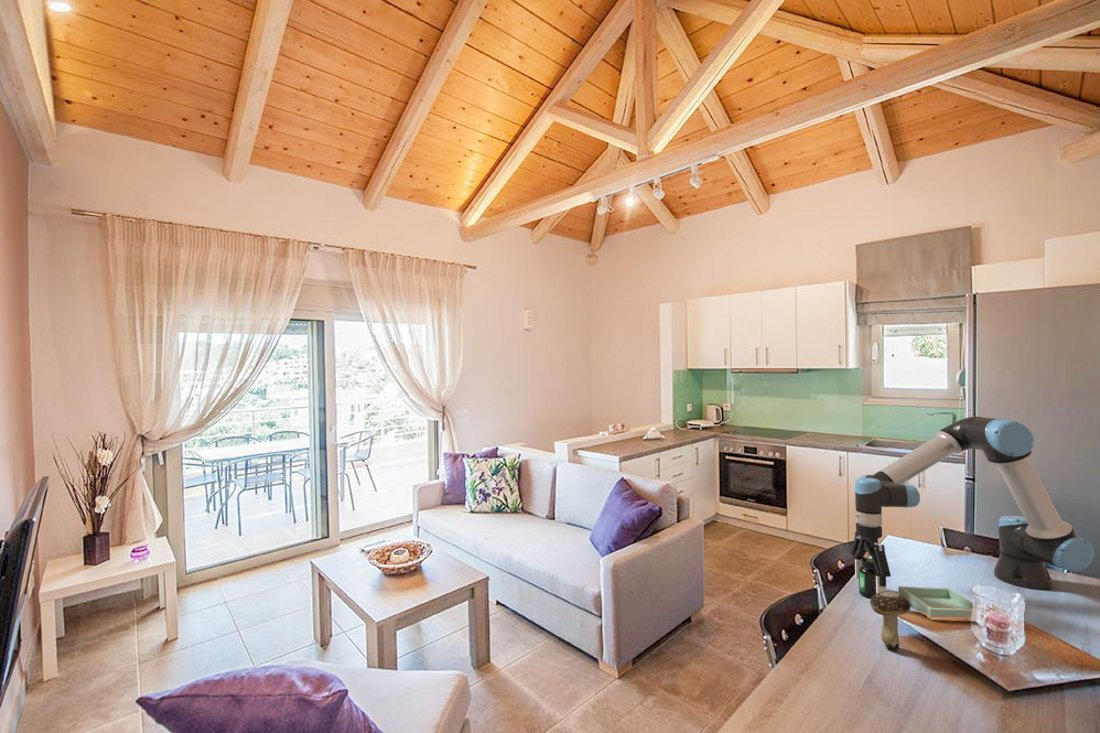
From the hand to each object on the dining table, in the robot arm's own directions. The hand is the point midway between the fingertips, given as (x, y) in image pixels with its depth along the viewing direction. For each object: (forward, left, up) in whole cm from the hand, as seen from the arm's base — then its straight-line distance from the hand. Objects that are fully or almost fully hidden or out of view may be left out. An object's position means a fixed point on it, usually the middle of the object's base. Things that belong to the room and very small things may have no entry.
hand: (870, 586), depth 165 cm
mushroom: (+12, +33, -3) cm, 35 cm away
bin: (-17, +8, -3) cm, 19 cm away
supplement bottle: (0, 0, -3) cm, 3 cm away
